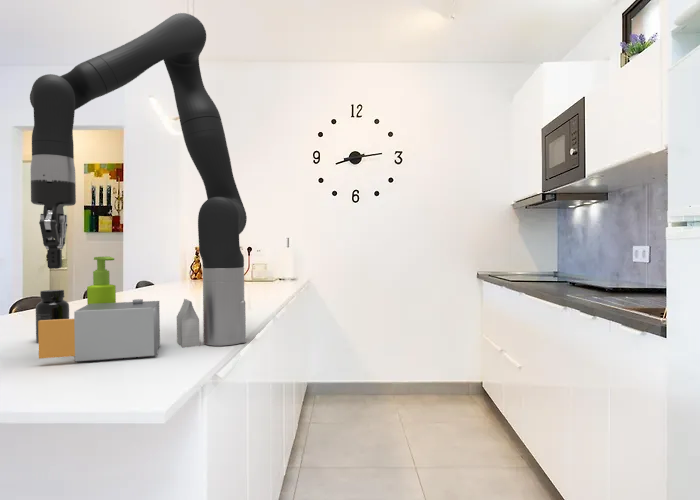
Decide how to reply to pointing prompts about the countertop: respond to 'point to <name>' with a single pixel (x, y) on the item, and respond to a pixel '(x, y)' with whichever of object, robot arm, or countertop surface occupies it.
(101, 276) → the soap dispenser
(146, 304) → the camera housing
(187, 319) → the grey gable top carton
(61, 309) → the supplement bottle
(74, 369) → the countertop surface
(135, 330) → the side door
